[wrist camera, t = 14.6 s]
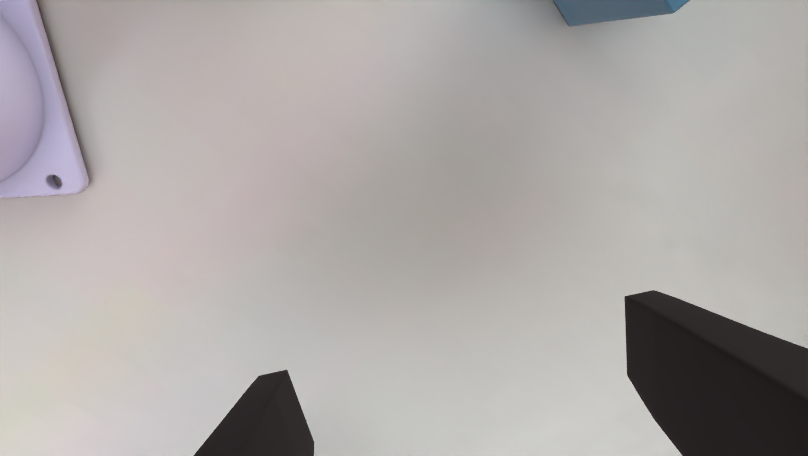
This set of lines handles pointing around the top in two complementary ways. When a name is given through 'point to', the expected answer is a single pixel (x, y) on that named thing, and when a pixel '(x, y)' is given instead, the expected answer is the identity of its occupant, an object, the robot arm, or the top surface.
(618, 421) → the top surface
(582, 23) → the block
